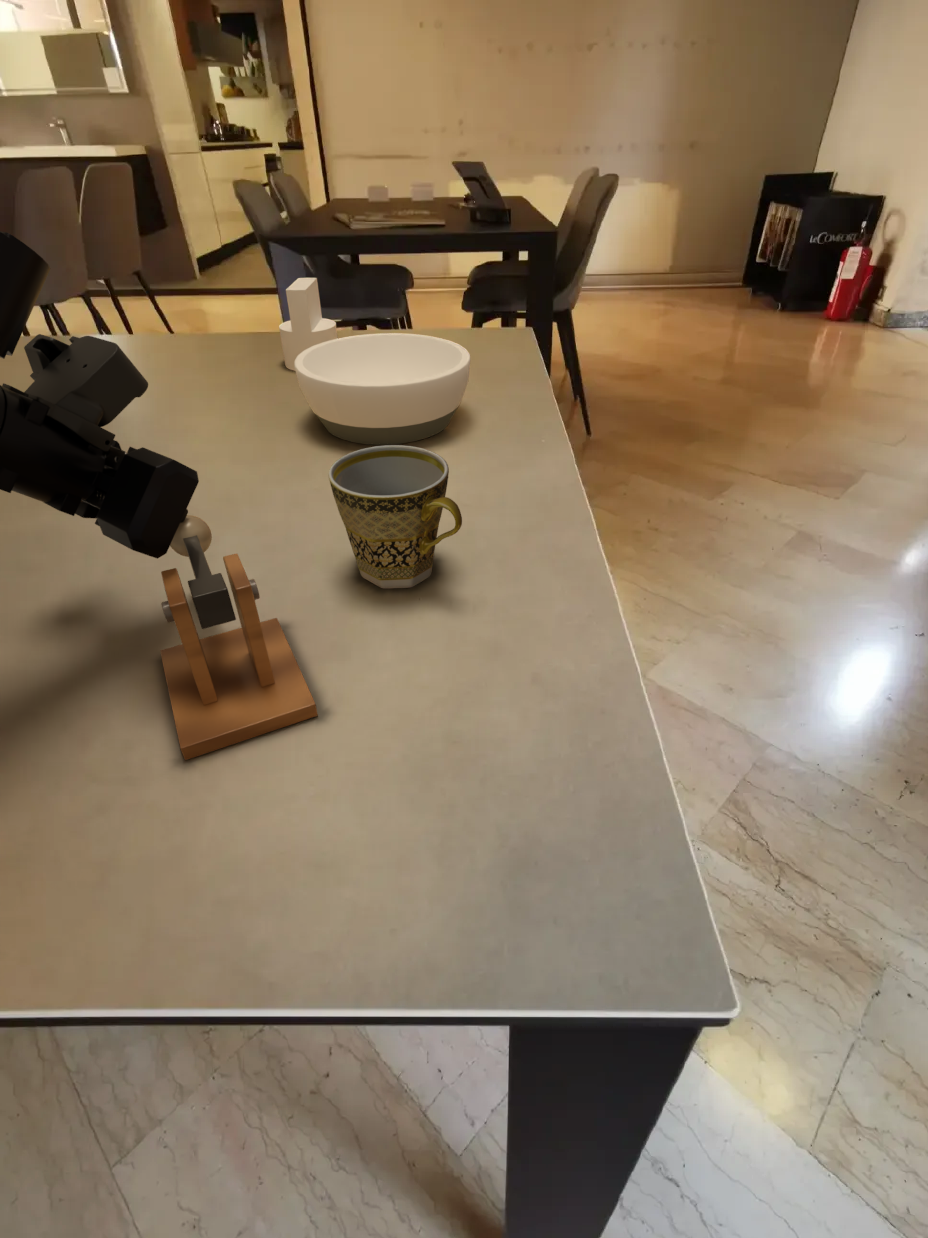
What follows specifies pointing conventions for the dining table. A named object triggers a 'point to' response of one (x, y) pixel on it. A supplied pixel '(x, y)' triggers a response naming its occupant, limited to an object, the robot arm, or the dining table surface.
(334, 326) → the cylinder with rectangular tab
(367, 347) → the bowl
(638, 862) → the dining table surface
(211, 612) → the lever
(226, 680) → the bracket
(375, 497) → the ceramic cup
